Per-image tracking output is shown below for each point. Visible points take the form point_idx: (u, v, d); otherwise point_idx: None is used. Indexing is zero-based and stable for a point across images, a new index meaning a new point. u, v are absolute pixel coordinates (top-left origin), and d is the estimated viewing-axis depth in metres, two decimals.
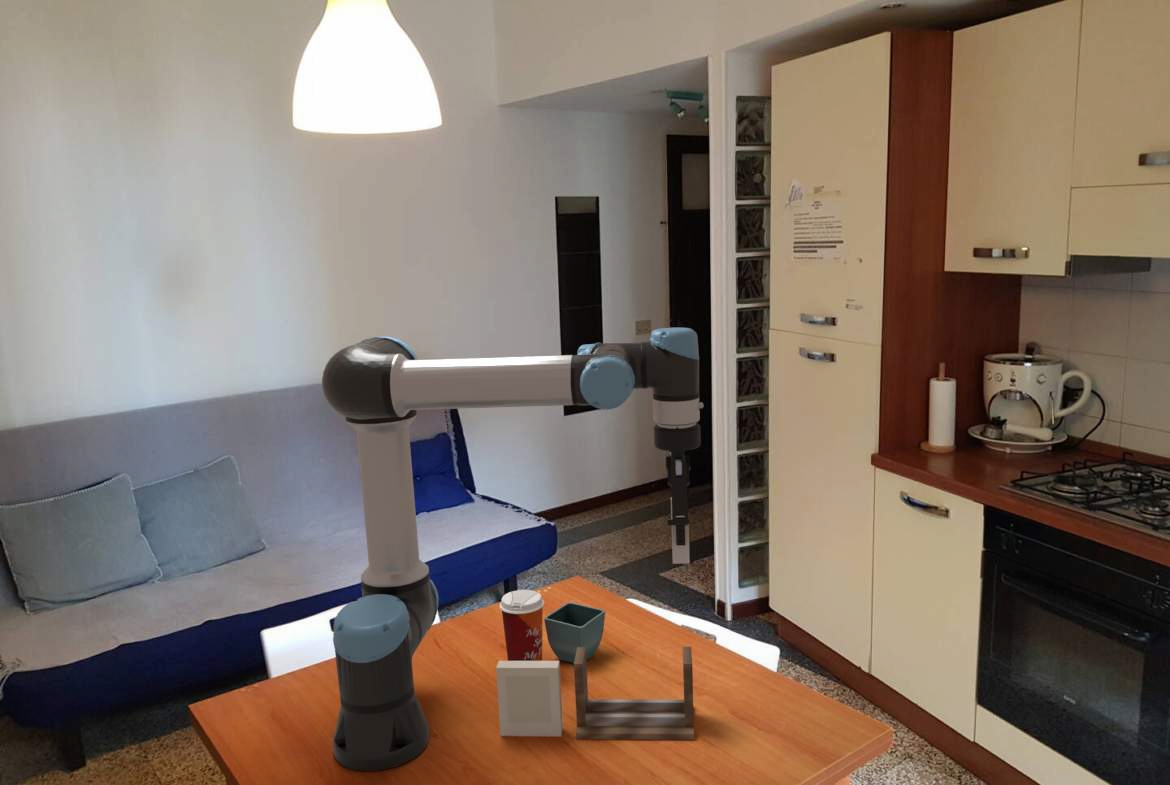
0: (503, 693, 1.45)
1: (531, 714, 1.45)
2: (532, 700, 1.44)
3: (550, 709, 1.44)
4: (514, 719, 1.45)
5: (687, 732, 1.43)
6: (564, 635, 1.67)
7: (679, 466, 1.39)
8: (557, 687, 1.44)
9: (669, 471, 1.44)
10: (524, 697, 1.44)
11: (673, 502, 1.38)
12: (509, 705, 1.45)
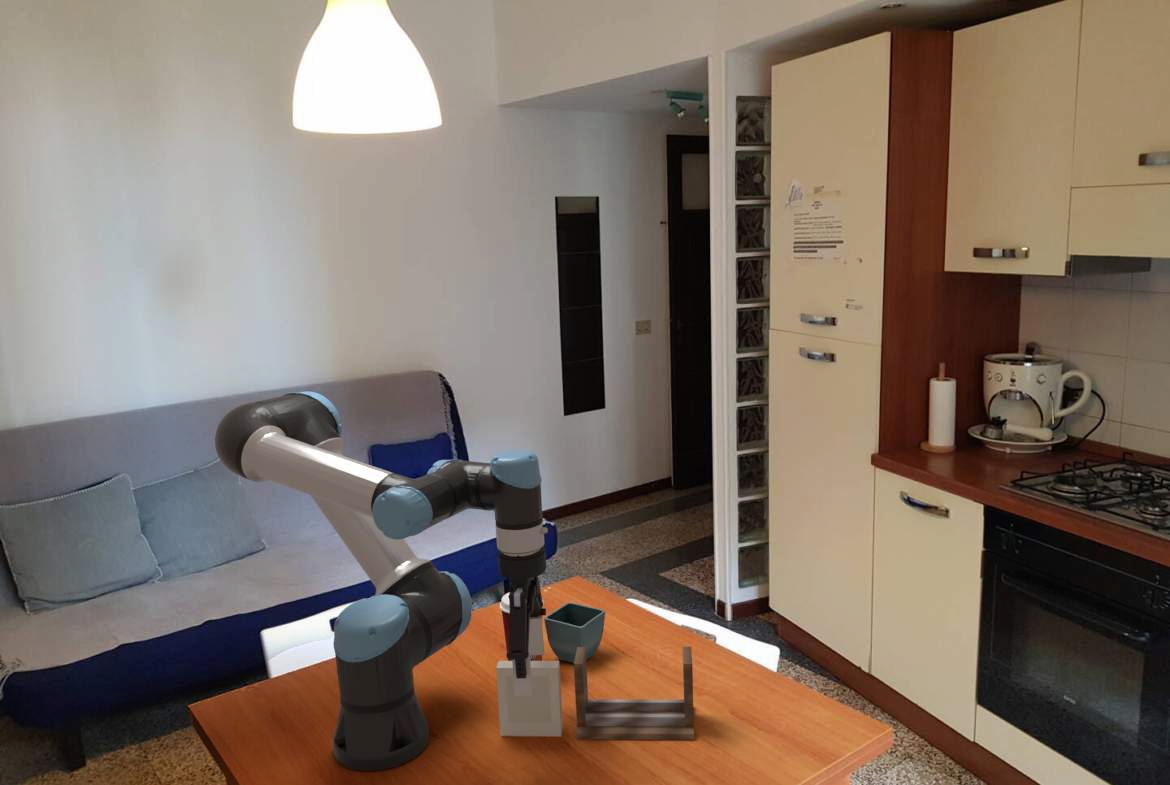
0: (503, 693, 1.45)
1: (531, 714, 1.45)
2: (532, 700, 1.44)
3: (550, 709, 1.44)
4: (514, 719, 1.45)
5: (687, 732, 1.43)
6: (564, 635, 1.67)
7: (517, 597, 1.35)
8: (557, 687, 1.44)
9: None
10: (524, 697, 1.44)
11: (510, 636, 1.34)
12: (509, 705, 1.45)
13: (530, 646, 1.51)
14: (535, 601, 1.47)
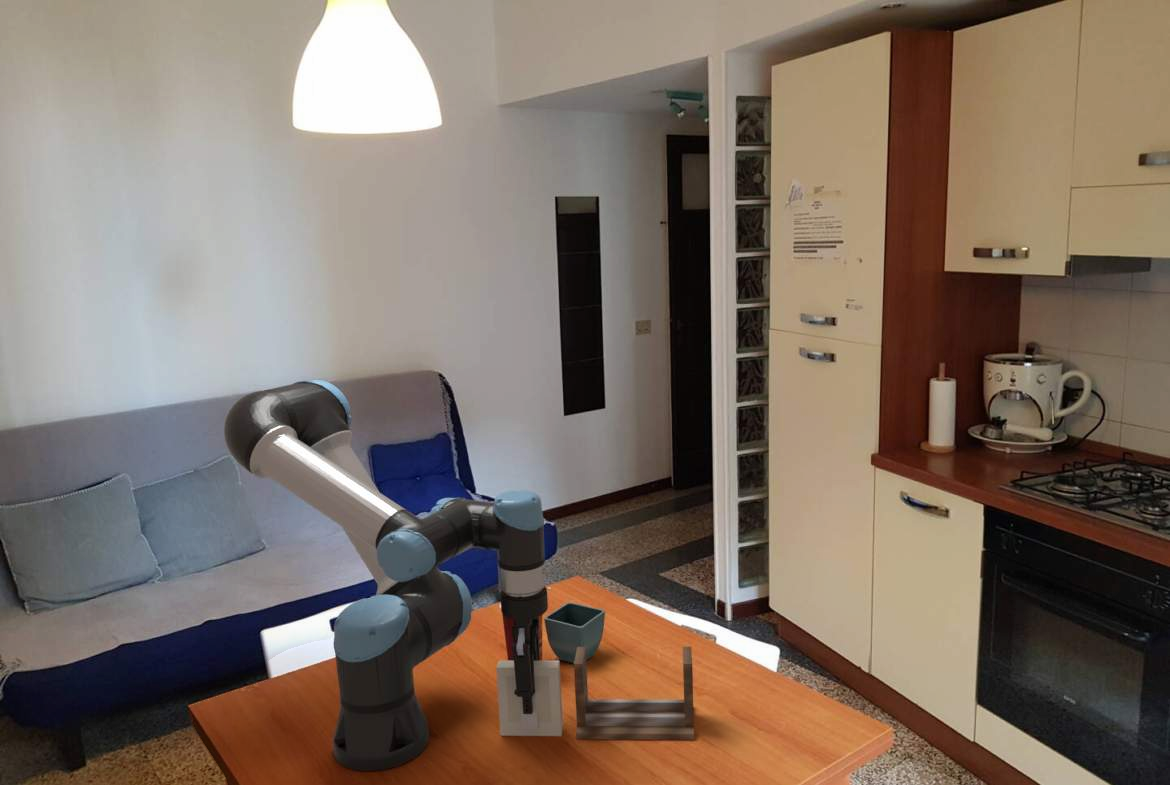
0: (503, 692, 1.45)
1: None
2: None
3: (550, 709, 1.44)
4: (514, 719, 1.45)
5: (687, 732, 1.43)
6: (564, 635, 1.67)
7: (520, 650, 1.37)
8: (557, 687, 1.44)
9: (515, 640, 1.42)
10: None
11: (516, 679, 1.40)
12: (509, 704, 1.45)
13: None
14: (534, 651, 1.45)
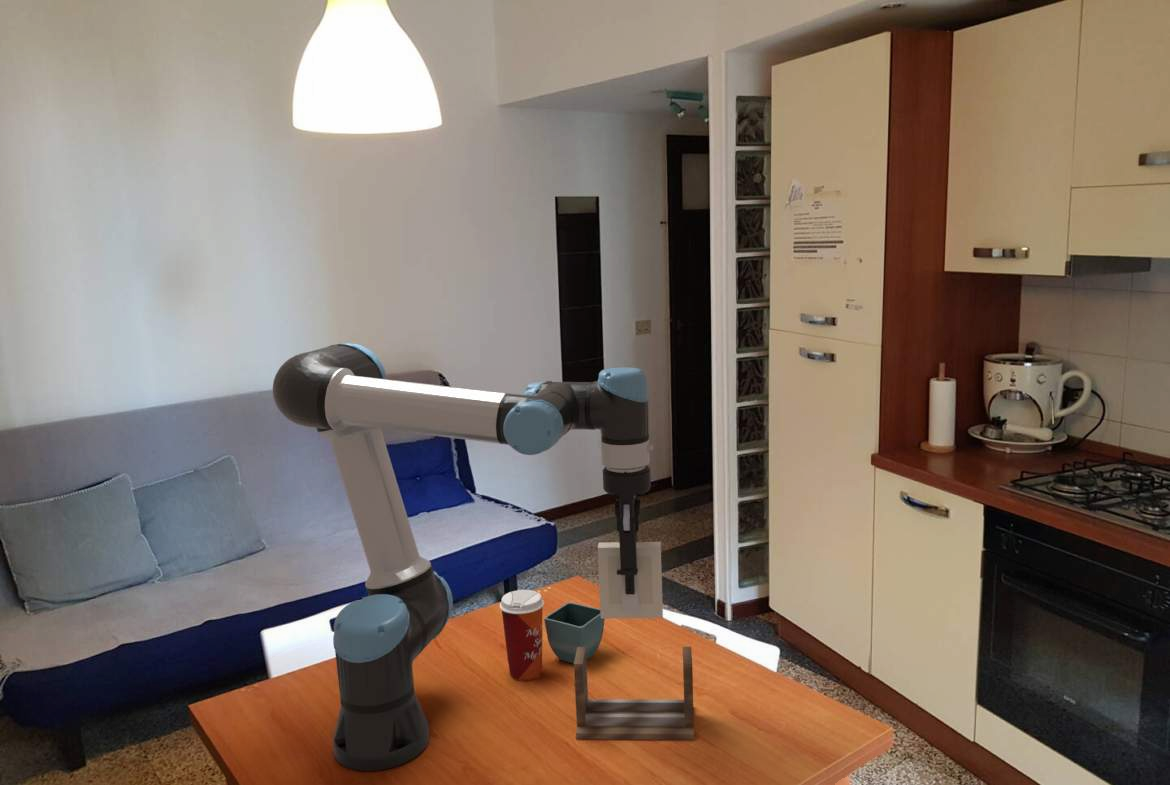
0: (604, 573, 1.43)
1: None
2: None
3: (652, 590, 1.42)
4: (615, 601, 1.43)
5: (687, 732, 1.43)
6: (564, 635, 1.67)
7: (626, 524, 1.35)
8: (660, 567, 1.42)
9: (618, 519, 1.40)
10: None
11: (621, 556, 1.38)
12: (610, 586, 1.43)
13: None
14: (635, 532, 1.44)
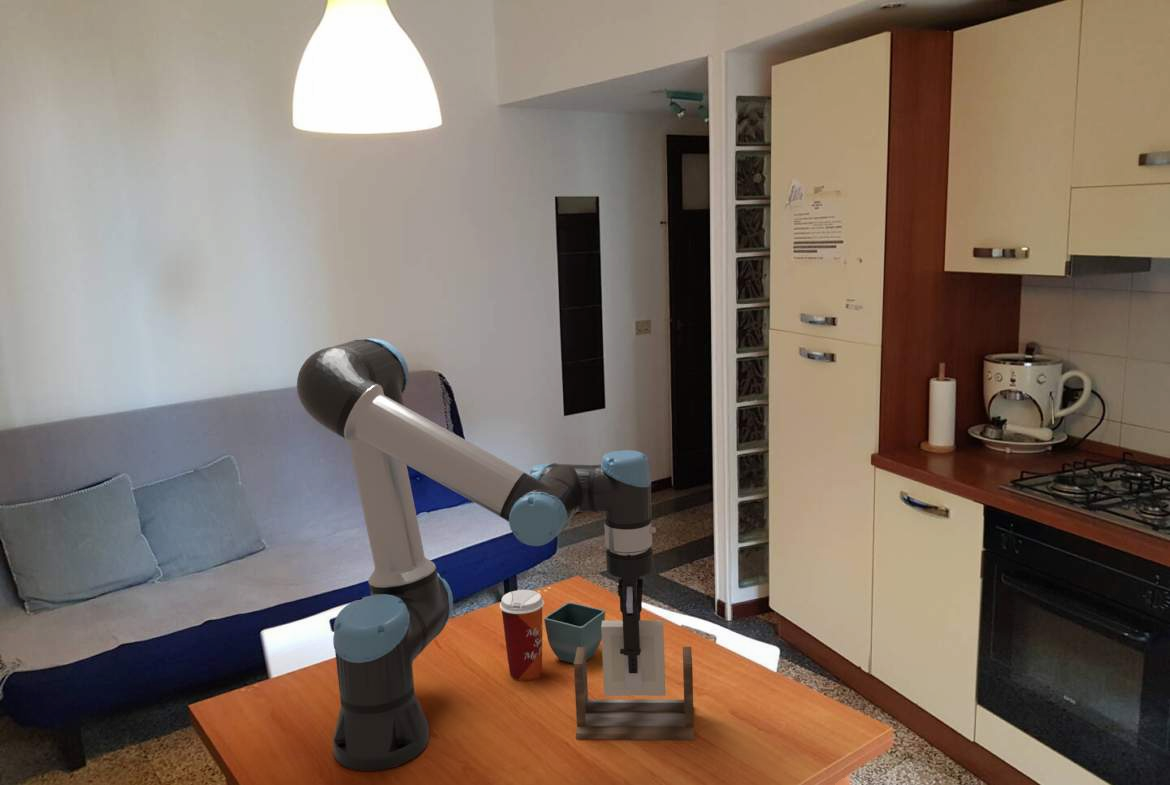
0: (608, 652, 1.45)
1: None
2: None
3: (655, 668, 1.45)
4: (618, 678, 1.46)
5: (687, 732, 1.43)
6: (564, 636, 1.67)
7: (630, 608, 1.38)
8: (662, 646, 1.44)
9: (621, 599, 1.42)
10: None
11: (624, 638, 1.40)
12: (613, 664, 1.45)
13: None
14: None
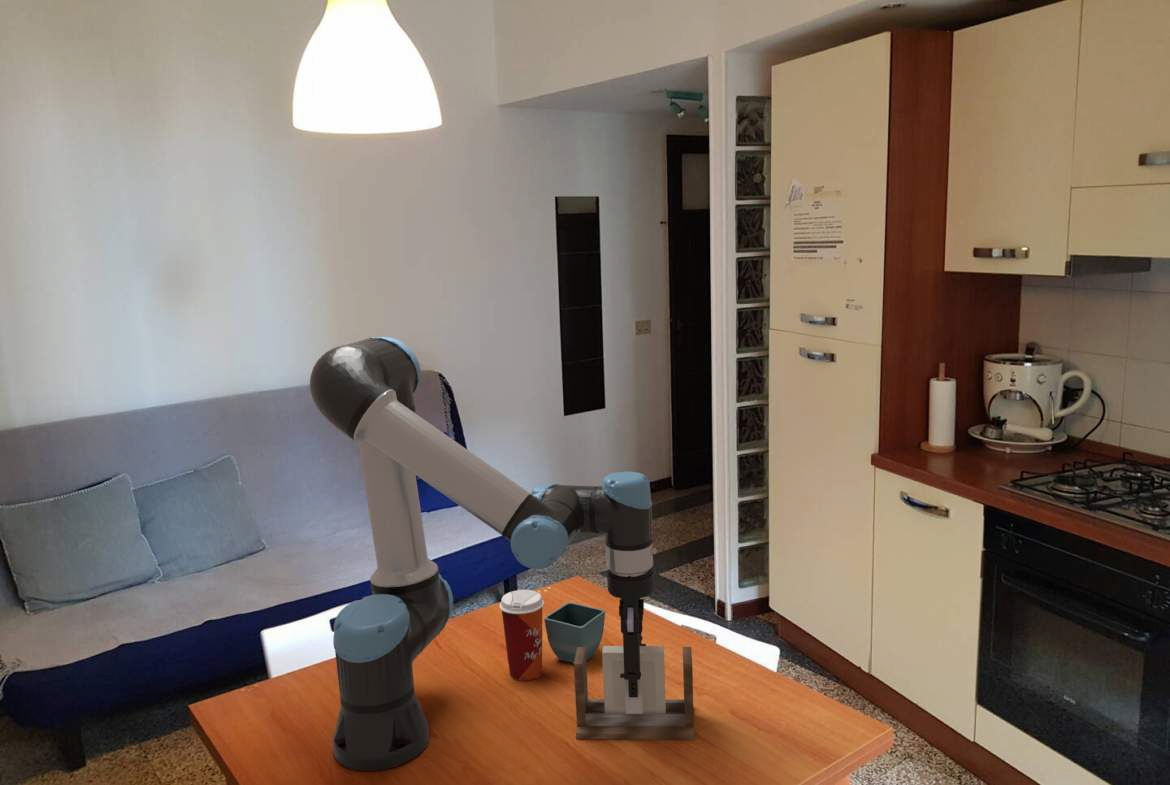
0: (609, 677, 1.46)
1: None
2: None
3: (656, 694, 1.46)
4: (619, 704, 1.46)
5: (687, 732, 1.43)
6: (564, 635, 1.67)
7: (630, 625, 1.38)
8: (663, 672, 1.45)
9: (622, 620, 1.42)
10: None
11: (625, 659, 1.39)
12: (614, 689, 1.46)
13: None
14: (638, 627, 1.48)
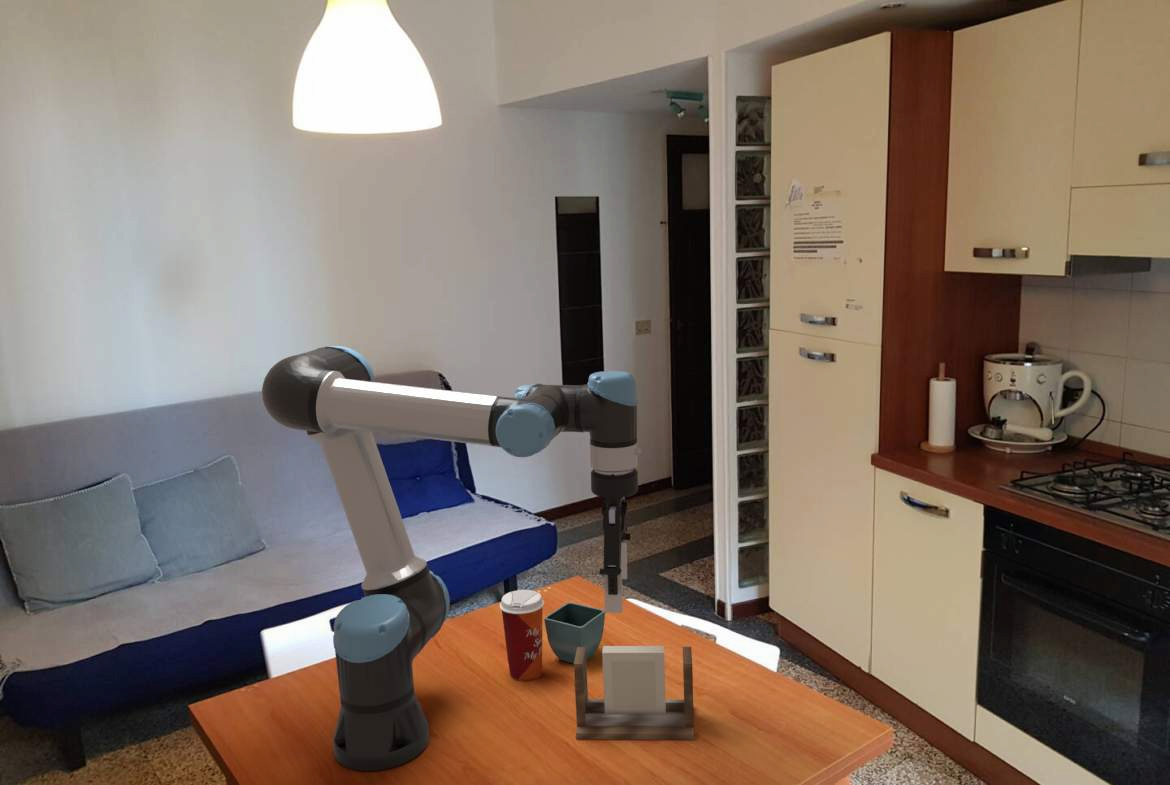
0: (609, 677, 1.46)
1: (636, 699, 1.46)
2: (638, 685, 1.45)
3: (656, 694, 1.46)
4: (619, 704, 1.46)
5: (687, 732, 1.43)
6: (564, 636, 1.67)
7: (612, 514, 1.36)
8: (663, 672, 1.45)
9: None
10: (629, 682, 1.46)
11: (605, 551, 1.36)
12: (614, 689, 1.46)
13: None
14: None
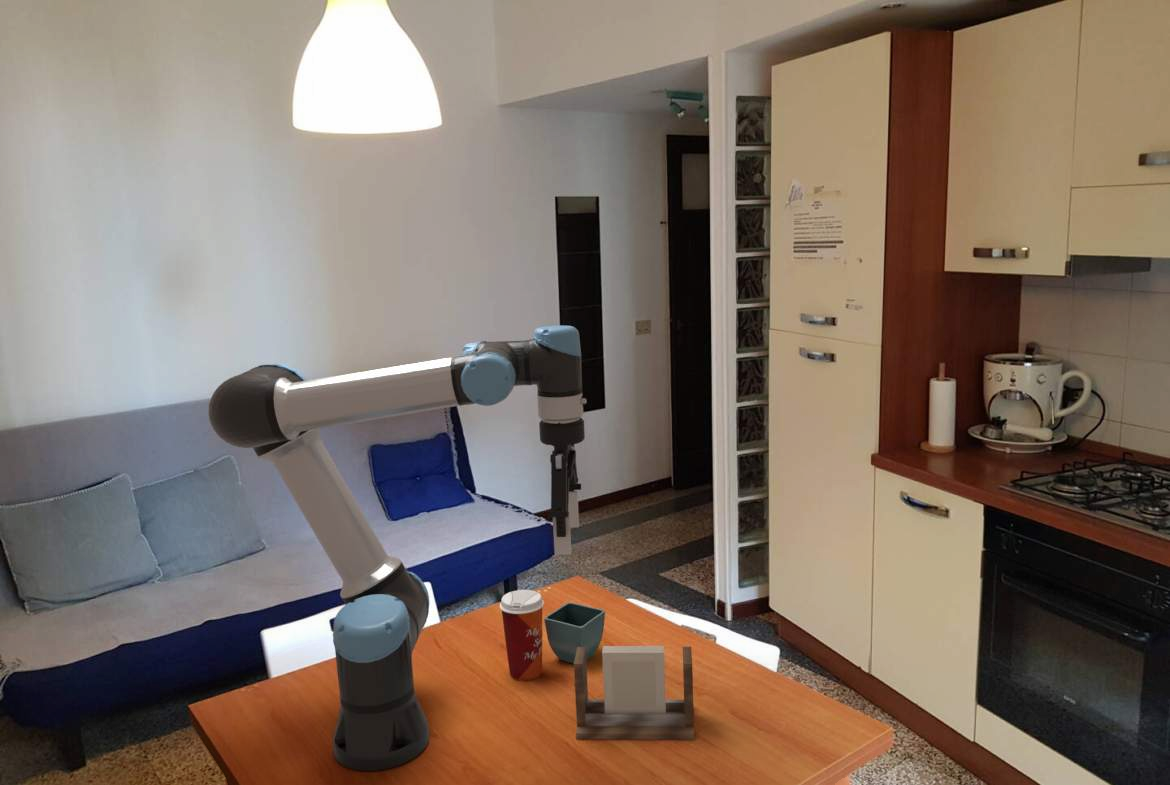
0: (609, 677, 1.46)
1: (636, 699, 1.46)
2: (638, 685, 1.45)
3: (656, 694, 1.46)
4: (619, 704, 1.46)
5: (687, 732, 1.43)
6: (564, 635, 1.67)
7: (558, 459, 1.43)
8: (663, 672, 1.45)
9: None
10: (629, 682, 1.46)
11: (552, 495, 1.42)
12: (614, 689, 1.46)
13: None
14: (572, 473, 1.55)
